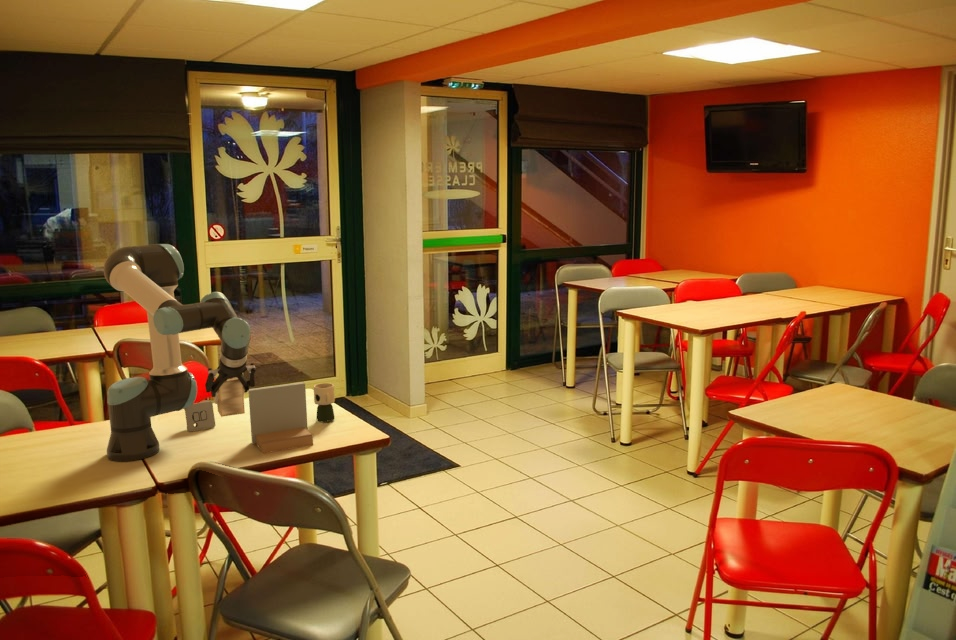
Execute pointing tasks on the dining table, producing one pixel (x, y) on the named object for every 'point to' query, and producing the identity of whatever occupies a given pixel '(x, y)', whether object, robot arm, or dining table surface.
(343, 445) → the dining table surface
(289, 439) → the grey panel display stand
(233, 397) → the tan canister
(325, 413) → the character mug
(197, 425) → the electrical switch
